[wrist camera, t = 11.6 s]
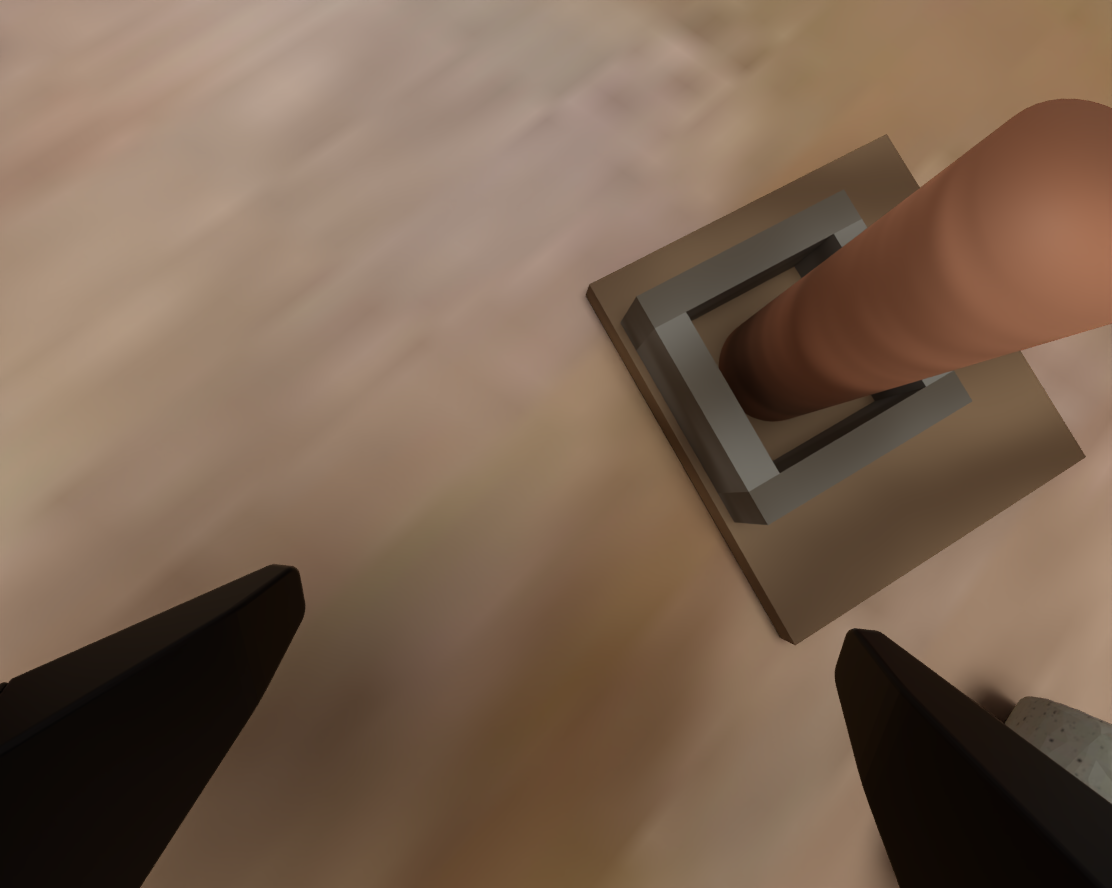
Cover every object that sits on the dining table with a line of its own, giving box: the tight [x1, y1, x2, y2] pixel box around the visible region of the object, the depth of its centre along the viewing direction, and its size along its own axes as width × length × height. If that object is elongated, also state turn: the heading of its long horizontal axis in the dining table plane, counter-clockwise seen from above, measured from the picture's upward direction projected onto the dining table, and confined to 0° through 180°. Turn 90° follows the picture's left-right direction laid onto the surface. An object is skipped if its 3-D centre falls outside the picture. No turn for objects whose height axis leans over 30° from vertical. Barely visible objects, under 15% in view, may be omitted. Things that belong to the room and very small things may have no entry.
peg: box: [719, 99, 1112, 422], centre depth 14 cm, size 4×4×11 cm
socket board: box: [586, 134, 1086, 645], centre depth 19 cm, size 15×14×4 cm
